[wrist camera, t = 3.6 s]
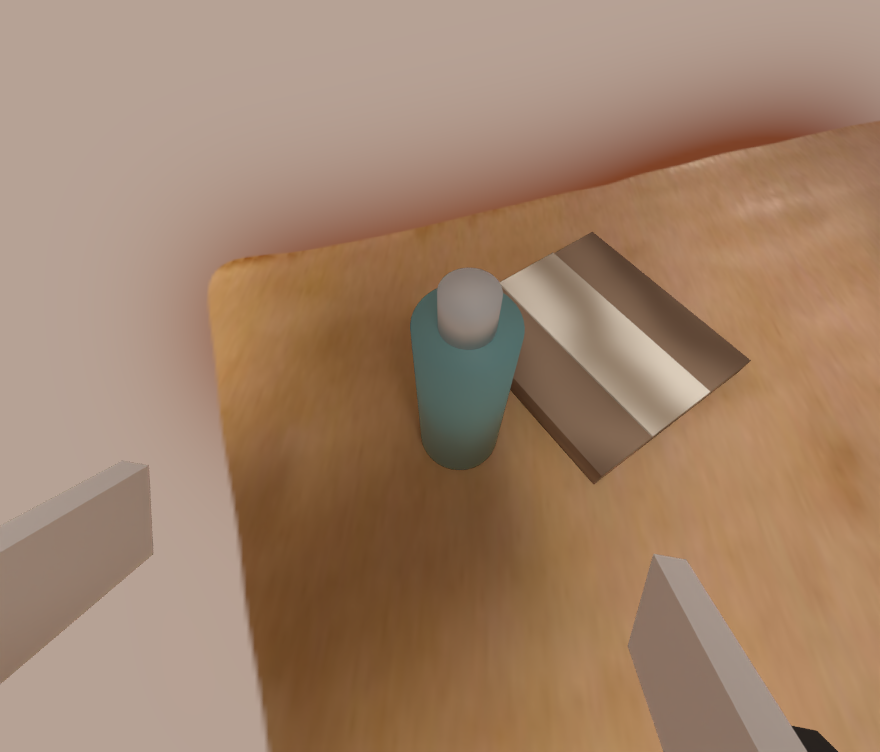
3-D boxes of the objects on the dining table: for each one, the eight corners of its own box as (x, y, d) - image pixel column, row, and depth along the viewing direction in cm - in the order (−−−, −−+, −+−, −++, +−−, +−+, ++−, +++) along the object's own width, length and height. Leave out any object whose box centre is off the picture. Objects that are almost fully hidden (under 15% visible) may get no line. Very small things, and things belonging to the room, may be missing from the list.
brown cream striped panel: (586, 246, 36) (592, 230, 34) (737, 372, 30) (752, 359, 28) (452, 323, 32) (452, 308, 31) (593, 484, 26) (602, 475, 25)
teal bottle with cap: (466, 387, 29) (481, 230, 18) (512, 442, 28) (560, 304, 16) (406, 425, 28) (383, 280, 17) (450, 485, 26) (455, 366, 15)
